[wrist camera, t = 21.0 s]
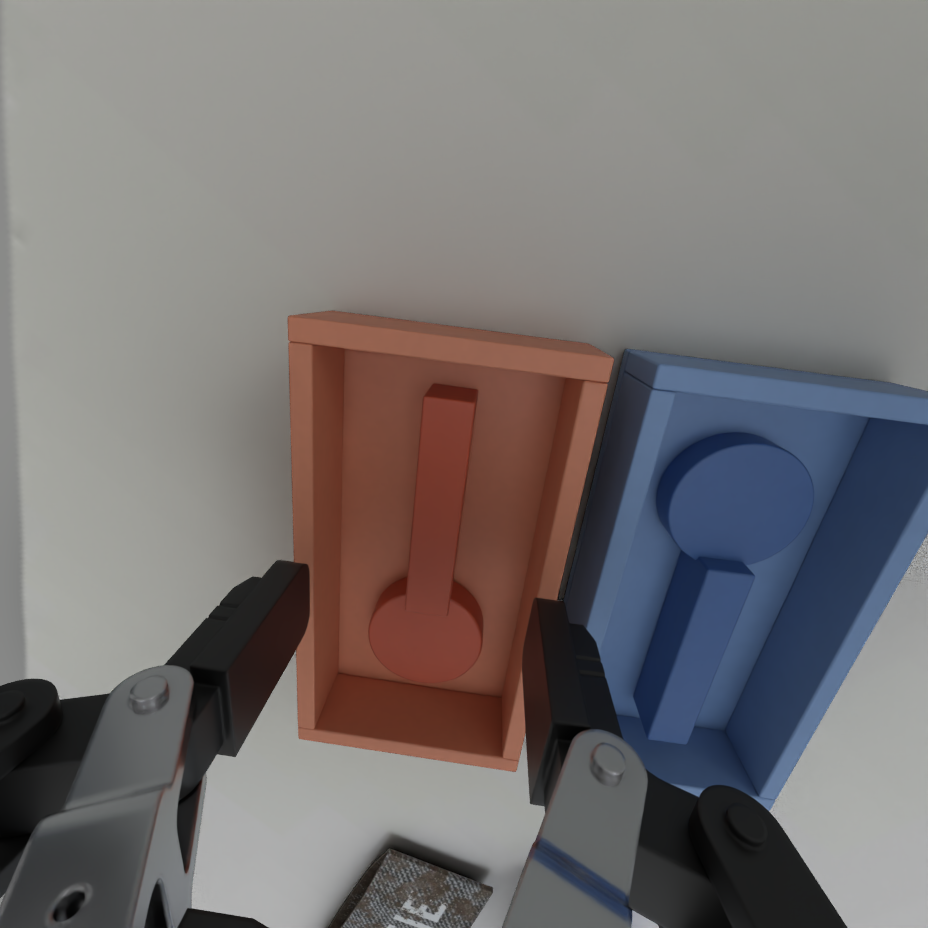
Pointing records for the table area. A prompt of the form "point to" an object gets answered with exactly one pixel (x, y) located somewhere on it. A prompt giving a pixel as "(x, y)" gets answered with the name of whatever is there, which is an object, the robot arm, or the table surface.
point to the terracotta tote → (391, 510)
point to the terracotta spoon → (434, 555)
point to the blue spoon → (714, 564)
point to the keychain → (411, 896)
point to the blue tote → (776, 578)
